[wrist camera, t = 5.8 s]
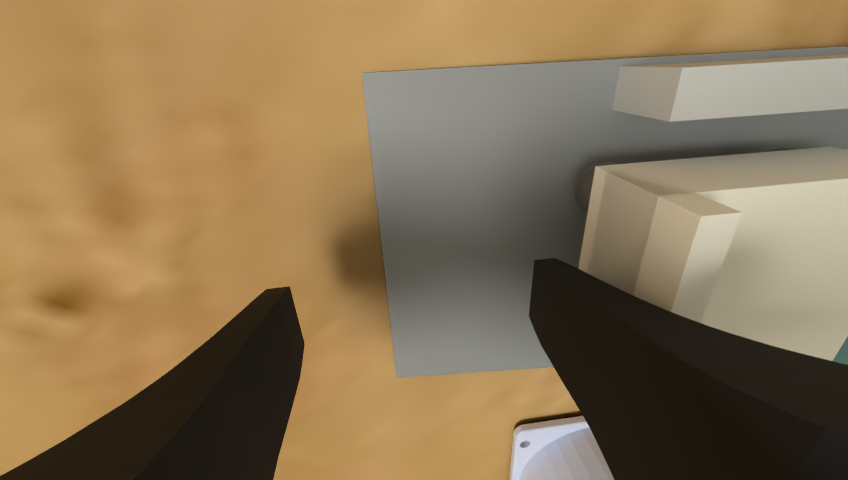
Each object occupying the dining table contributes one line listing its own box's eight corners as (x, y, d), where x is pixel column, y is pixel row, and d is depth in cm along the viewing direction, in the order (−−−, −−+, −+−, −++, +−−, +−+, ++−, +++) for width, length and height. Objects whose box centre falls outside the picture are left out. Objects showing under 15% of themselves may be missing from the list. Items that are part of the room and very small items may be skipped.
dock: (752, 321, 18) (866, 399, 14) (396, 367, 16) (403, 471, 12) (879, 43, 12) (1130, 33, 8) (362, 72, 11) (354, 78, 7)
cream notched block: (716, 315, 14) (859, 420, 10) (544, 336, 14) (620, 459, 10) (786, 137, 11) (1035, 183, 7) (568, 155, 11) (696, 216, 6)
